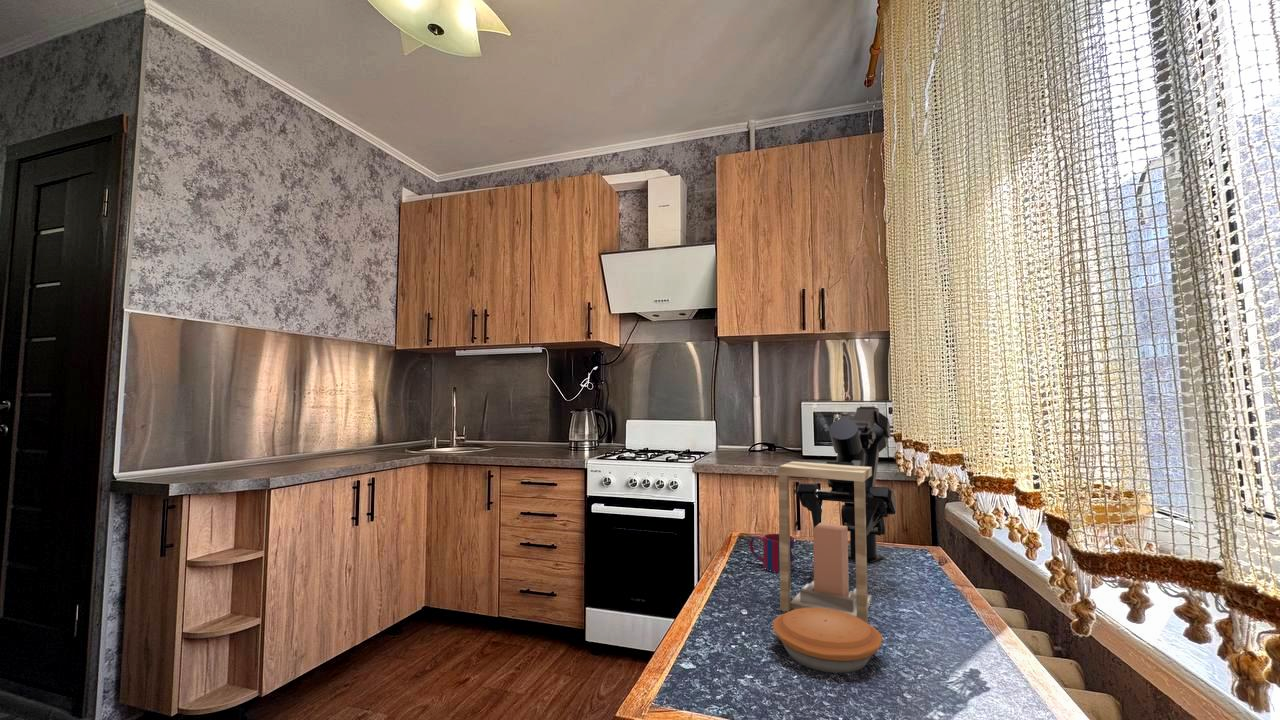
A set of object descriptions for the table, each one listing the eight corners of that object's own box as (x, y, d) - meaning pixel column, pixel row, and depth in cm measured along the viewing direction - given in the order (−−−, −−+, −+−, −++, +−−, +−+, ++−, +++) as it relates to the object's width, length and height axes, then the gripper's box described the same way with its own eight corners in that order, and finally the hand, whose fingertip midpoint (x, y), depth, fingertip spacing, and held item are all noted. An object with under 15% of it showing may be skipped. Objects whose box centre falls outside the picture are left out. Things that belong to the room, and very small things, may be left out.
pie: (785, 624, 92) (785, 594, 92) (886, 645, 85) (886, 612, 85) (760, 664, 78) (760, 629, 79) (877, 693, 71) (876, 653, 71)
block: (821, 592, 104) (820, 522, 105) (848, 597, 101) (847, 526, 102) (814, 600, 100) (813, 528, 101) (842, 606, 97) (841, 531, 98)
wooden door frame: (801, 587, 109) (799, 458, 111) (879, 601, 102) (876, 463, 103) (780, 610, 98) (778, 466, 99) (866, 628, 90) (863, 472, 92)
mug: (786, 575, 117) (786, 543, 117) (744, 566, 123) (744, 535, 123) (799, 567, 122) (799, 536, 122) (758, 559, 128) (758, 529, 129)
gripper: (796, 445, 119) (781, 506, 109) (889, 446, 108) (882, 515, 98) (809, 476, 125) (796, 537, 115) (898, 480, 114) (893, 548, 104)
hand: (839, 534), depth 108 cm, fingers open, 9 cm apart
